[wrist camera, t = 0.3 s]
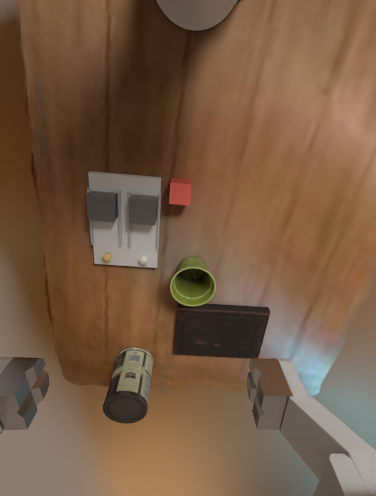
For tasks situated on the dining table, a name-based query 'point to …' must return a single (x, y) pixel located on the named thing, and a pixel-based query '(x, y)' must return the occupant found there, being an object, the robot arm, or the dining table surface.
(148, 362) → the coffee can
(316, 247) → the dining table surface
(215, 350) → the hardcover book
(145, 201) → the block
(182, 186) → the red block
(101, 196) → the block
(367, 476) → the robot arm
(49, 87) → the dining table surface
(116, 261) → the breaker panel
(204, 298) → the plant pot
